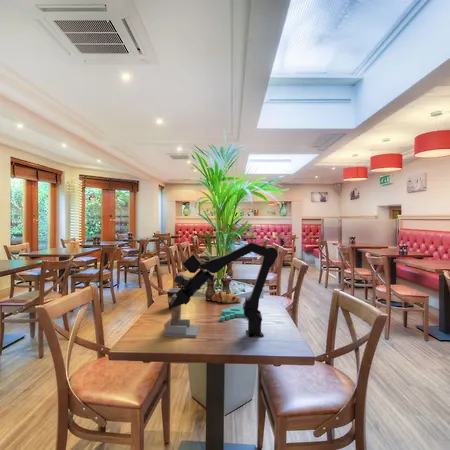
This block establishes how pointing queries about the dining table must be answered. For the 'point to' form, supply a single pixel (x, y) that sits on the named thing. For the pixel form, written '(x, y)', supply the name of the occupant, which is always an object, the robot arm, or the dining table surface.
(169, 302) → the coffee mug
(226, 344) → the dining table surface
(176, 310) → the menu block
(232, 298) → the croissant
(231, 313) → the alien figure
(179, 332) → the seat
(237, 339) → the dining table surface
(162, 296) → the dining table surface
